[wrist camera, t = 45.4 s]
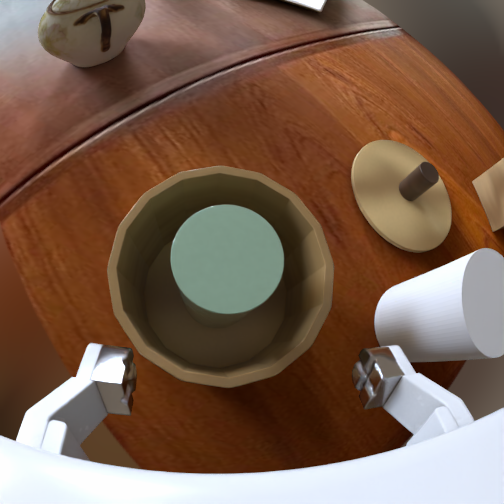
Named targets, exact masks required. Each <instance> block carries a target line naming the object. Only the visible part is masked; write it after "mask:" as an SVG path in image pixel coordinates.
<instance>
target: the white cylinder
mask: <svg viewBox="0 0 504 504" xmlns="http://www.w3.org/2000/svg"><path fill="white" fill-rule="evenodd" d="M374 324H375V333H376V337H377V340H378V342H379V344H380V346H381V347H383V346H385V347H386V346H392V345H398V346H399V347H400V348H401V349H402V351H403V353H404V354H405V356H406V357H407V359H408V361H409V362H436V361H457V360H472V359H485V358H496V357H500V356H502V355H503V354H504V258H503V257H502V256H501V255H500V254H499V253H498V252H496V251H495V250H492V249H489V248H483V249H479V250H477V251H475V252H473V253H471V254H469V255H466V256H464V257H462V258H460V259H457V260H455V261H453V262H451V263H448V264H446V265H444V266H441V267H439V268H437V269H434V270H432V271H430V272H427V273H425V274H423V275H420V276H418V277H415V278H413V279H410V280H408V281H405V282H403V283H400V284H398V285H395V286H393V287H391V288H390V289H388V290H387V291H386V292H385V293H384V295H383V296H382V297H381V299H380V301H379V303H378V305H377V308H376V312H375V321H374Z"/></svg>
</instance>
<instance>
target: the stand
mask: <svg viewBox="0 0 504 504" xmlns="http://www.w3.org/2000/svg"><path fill="white" fill-rule="evenodd" d="M472 182H473V185H474V187H475V189H476V191H477V193H478V196H479V198H480V200H481V203H482V205H483V208H484V210H485V213H486V215H487V218H488V220H489V223H490V225H491V228H492V231H493V232H494V231H497V230H500V229H503V228H504V158H503V159H502V160H500V161H499V162H498V163H496V164H495V165H494V166H493V167H491V168H490V169H489V170H487V171H486V172H485V173H483V174H482V175H481V176H479V177H478V178H476V179H475V180H474V181H472Z"/></svg>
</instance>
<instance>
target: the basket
mask: <svg viewBox="0 0 504 504" xmlns="http://www.w3.org/2000/svg"><path fill="white" fill-rule="evenodd" d="M216 205H236V206H240V207H244V208H247V209H249V210H252V211H253V212H255V213H257V214H259V215H260V216H261V217H263V218H264V219H265V220H266V221H267V222H268V223H269V224H270V225H271V226H272V227H273V229H274V230H275V232H276V233H277V235H278V237H279V239H280V242H281V244H282V248H283V252H284V269H283V274H282V277H281V280H280V282H279V285H278V287H277V288H276V290H275V291H274V293H273V294H272V295H271V296H270V297H269V298H268V299H267V300H266V301H265V302H264V303H263V304H261V305H260V306H259V307H257V308H256V309H255V310H253V311H252V312H251V313H249V314H248V315H247V316H245V317H244V318H243V319H241V320H240V321H239V322H237V323H235V324H234V325H232V326H229V327H226V328H217V329H216V328H209V327H206V326H203V325H201V324H200V323H198V322H197V321H195V320H194V319H193V318H192V317H191V316H190V315H189V313H188V312H187V310H186V308H185V305H184V303H183V300H182V298H181V295H180V292H179V290H178V287H177V284H176V281H175V279H174V276H173V272H172V268H171V248H172V244H173V241H174V238H175V236H176V234H177V232H178V231H179V229H180V227H181V226H182V225H183V224H184V223H185V221H187V220H188V219H189V218H190V217H191V216H192V215H194V214H195V213H197V212H199V211H201V210H203V209H205V208H208V207H212V206H216ZM107 273H108V280H109V287H110V293H111V299H112V305H113V311H114V314H115V317H116V318H117V320H118V321H119V323H120V325H121V326H122V328H123V329H124V331H125V332H126V334H127V335H128V337H129V339H130V340H131V342H132V343H133V345H134V346H135V348H136V349H137V351H138V352H139V353H140V354H141V355H142V356H143V357H145V358H146V359H148V360H149V361H151V362H152V363H154V364H155V365H157V366H158V367H160V368H161V369H163V370H165V371H166V372H168V373H169V374H171V375H172V376H174V377H176V378H177V379H179V380H182V381H185V382H190V383H196V384H203V385H209V386H216V387H223V388H233V387H237V386H241V385H245V384H248V383H252V382H256V381H259V380H263V379H266V378H270V377H273V376H275V375H277V374H279V373H280V372H281V371H282V370H284V369H285V368H286V367H287V366H288V365H290V364H291V363H292V362H293V361H295V360H296V359H297V358H298V357H299V356H301V355H302V354H303V353H304V352H305V351H307V350H308V349H309V348H310V347H311V346H312V344H313V342H314V341H315V339H316V337H317V335H318V333H319V331H320V329H321V327H322V325H323V323H324V321H325V319H326V317H327V315H328V313H329V311H330V309H331V304H332V290H333V275H334V263H333V260H332V257H331V254H330V251H329V248H328V245H327V242H326V239H325V236H324V233H323V230H322V227H321V225H320V223H319V222H318V221H317V220H316V218H315V217H314V216H313V215H312V214H311V212H310V211H309V210H308V209H307V207H306V206H305V205H304V204H303V203H302V201H301V200H300V199H299V198H298V196H297V195H296V194H295V193H293V192H291V191H290V190H288V189H286V188H285V187H283V186H281V185H280V184H278V183H276V182H275V181H273V180H271V179H270V178H268V177H266V176H264V175H263V174H261V173H257V172H252V171H247V170H242V169H237V168H231V167H226V166H214V167H208V168H202V169H196V170H190V171H184V172H180V173H178V174H176V175H174V176H172V177H171V178H169V179H167V180H166V181H164V182H162V183H160V184H159V185H157V186H155V187H154V188H152V189H150V190H149V191H147V192H145V193H144V194H143V195H142V197H141V198H140V199H139V200H138V202H137V203H136V204H135V205H134V207H133V208H132V209H131V211H130V212H129V213H128V214H127V216H126V217H125V218H124V220H123V221H122V222H121V224H120V225H119V227H118V229H117V233H116V237H115V240H114V244H113V248H112V252H111V256H110V260H109V264H108V268H107Z"/></svg>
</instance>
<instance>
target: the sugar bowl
mask: <svg viewBox="0 0 504 504" xmlns="http://www.w3.org/2000/svg"><path fill="white" fill-rule="evenodd" d="M144 13H145V0H53V1H52V2H51V3H50V5H49V6H48V7H47V10H46V12H45V13H44V15H43V16H42V18H41V20H40V23H39V27H38V38H39V41H40V43H41V45H42V47H43V48H44V49H45V50H46V51H47V52H49V53H50V54H51V55H53V56H55V57H57V58H59V59H62V60H64V61H67V62H69V63H71V64H73V65H75V66H78V67H91V66H95V65H98V64H101V63H104V62H107V61H109V60H111V59H112V58H114V57H116V56H117V55H119V54H120V53H121V52H122V51H123V49H124V47H125V45H126V44H127V42H128V41H129V40H130V38H131V37H132V36H133V35H134V33H135V32H136V30H137V29H138V27H139V25H140V23H141V22H142V19H143V17H144Z"/></svg>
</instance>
